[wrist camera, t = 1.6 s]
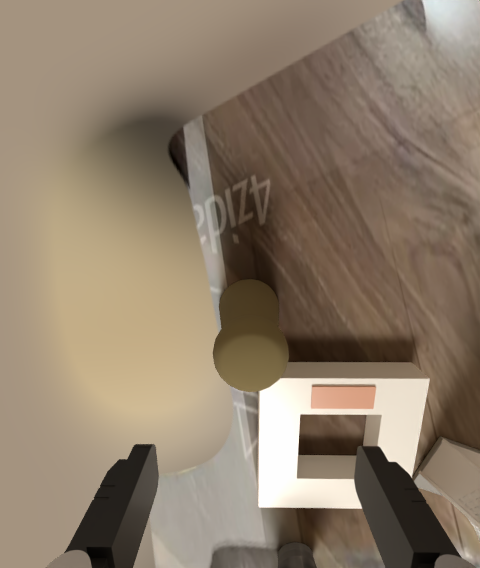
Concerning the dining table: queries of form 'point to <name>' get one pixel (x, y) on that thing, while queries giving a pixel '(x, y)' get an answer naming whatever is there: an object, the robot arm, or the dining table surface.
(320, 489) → the hole board
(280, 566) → the beverage cup
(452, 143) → the dining table surface
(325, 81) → the dining table surface
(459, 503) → the skyscraper
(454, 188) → the dining table surface
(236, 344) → the cork
